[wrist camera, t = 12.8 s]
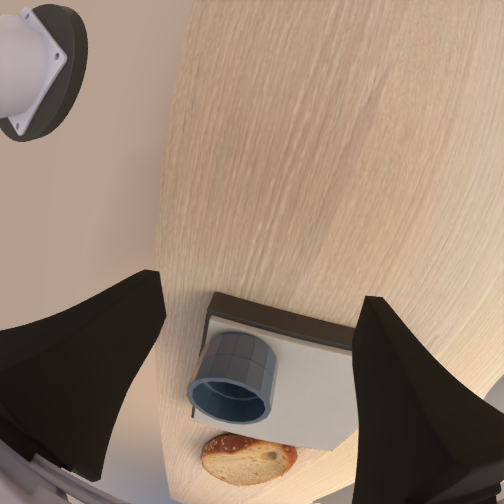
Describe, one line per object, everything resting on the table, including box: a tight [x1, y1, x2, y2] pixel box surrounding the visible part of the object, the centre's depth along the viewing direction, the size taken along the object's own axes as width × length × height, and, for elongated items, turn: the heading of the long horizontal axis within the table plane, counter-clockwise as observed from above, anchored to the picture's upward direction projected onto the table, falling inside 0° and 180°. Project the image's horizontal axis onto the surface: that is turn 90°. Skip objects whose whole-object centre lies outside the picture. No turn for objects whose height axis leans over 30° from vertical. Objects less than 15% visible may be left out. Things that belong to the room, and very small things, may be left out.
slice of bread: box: [201, 435, 297, 486], centre depth 35 cm, size 18×18×4 cm
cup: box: [187, 332, 278, 425], centre depth 19 cm, size 6×6×4 cm
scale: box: [191, 292, 359, 451], centre depth 25 cm, size 17×17×3 cm
